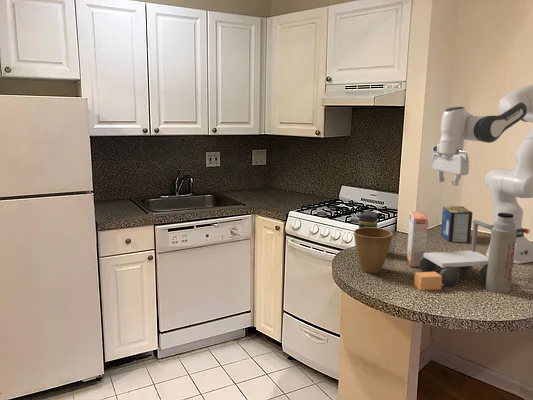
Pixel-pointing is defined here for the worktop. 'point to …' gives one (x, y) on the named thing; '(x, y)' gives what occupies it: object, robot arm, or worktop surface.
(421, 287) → the block
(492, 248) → the thermos bottle
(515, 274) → the worktop surface
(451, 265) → the cart
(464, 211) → the protein box
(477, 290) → the worktop surface
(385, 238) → the plant pot
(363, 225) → the coffee jar
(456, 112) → the robot arm
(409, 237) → the cracker box
